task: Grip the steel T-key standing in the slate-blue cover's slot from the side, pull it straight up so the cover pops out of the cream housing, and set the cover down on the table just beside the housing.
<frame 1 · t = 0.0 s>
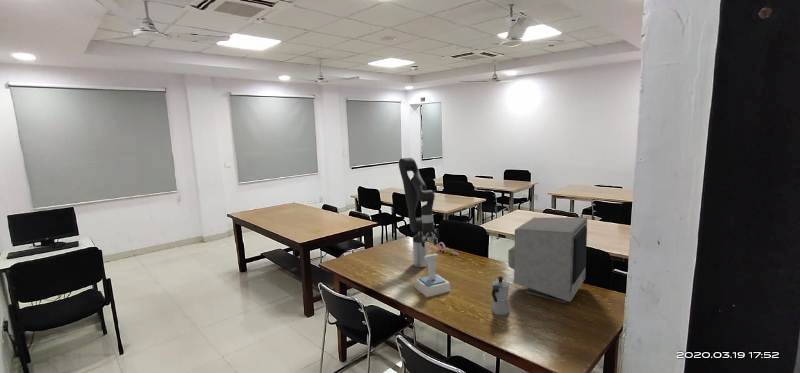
hand: (429, 246, 239), 17 cm above the table, tool pointing down, fingers open, 8 cm apart
housing: (432, 289, 214), on the table
crt monitor: (544, 291, 206), on the table
decorative key: (448, 253, 276), on the table
snap cover: (432, 282, 213), point 4 cm above the table, touching housing
coffee maker: (499, 312, 184), on the table
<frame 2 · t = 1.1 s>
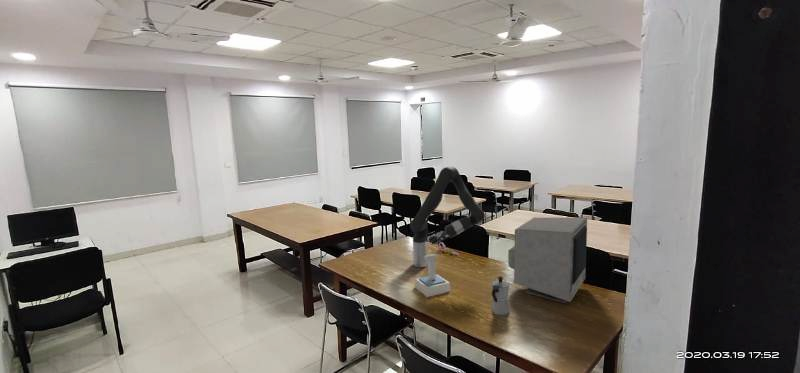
hand: (430, 241, 219), 26 cm above the table, tool tilted 65°, fingers open, 8 cm apart
nothing on the table moved.
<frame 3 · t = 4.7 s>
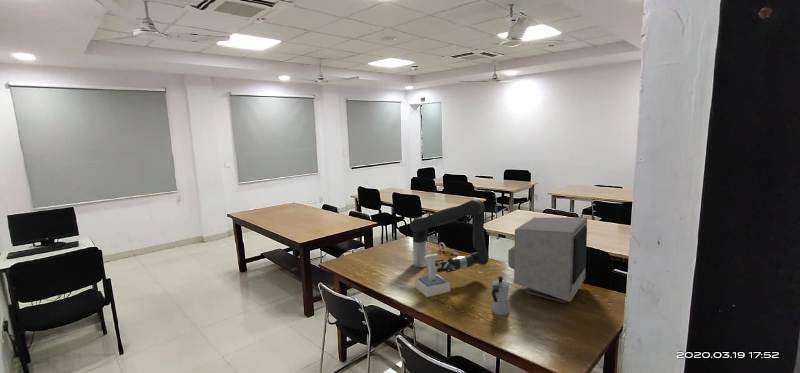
hand: (433, 268, 212), 13 cm above the table, tool horizontal, fingers open, 8 cm apart
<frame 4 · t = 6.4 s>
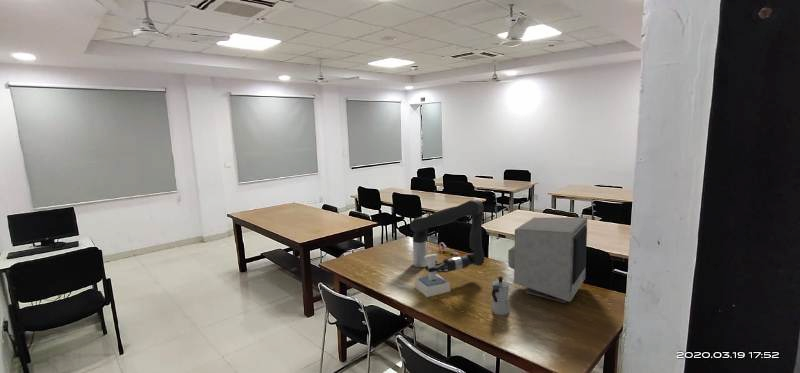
hand: (427, 269, 211), 13 cm above the table, tool horizontal, fingers closed on snap cover, 3 cm apart
snap cover: (432, 282, 213), point 4 cm above the table, touching gripper, housing
everything else where it was.
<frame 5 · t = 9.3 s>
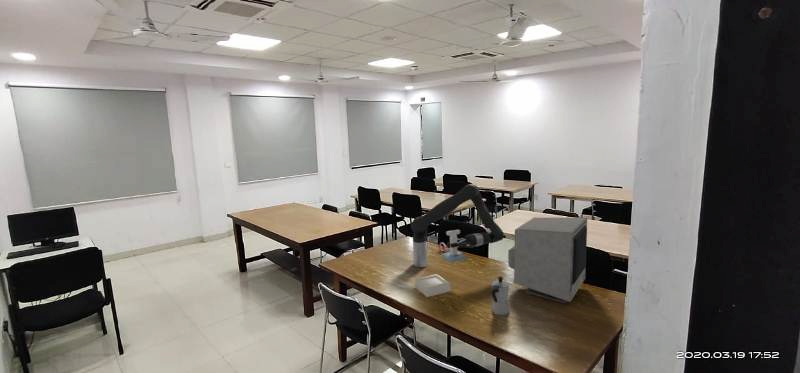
hand: (449, 245, 215), 25 cm above the table, tool horizontal, fingers closed on snap cover, 3 cm apart
snap cover: (453, 258, 218), point 16 cm above the table, touching gripper
when the fingers open (10 cm above the table, at t = 12.2 s): snap cover drops 1 cm, on the table.
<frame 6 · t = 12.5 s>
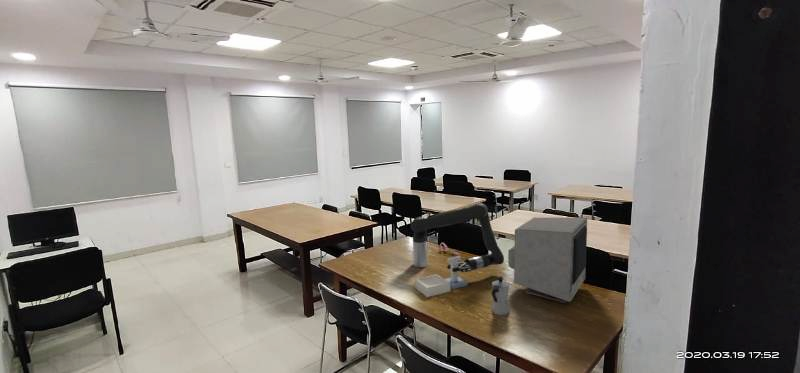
hand: (450, 268, 217), 10 cm above the table, tool horizontal, fingers open, 5 cm apart
snap cover: (454, 284, 220), on the table
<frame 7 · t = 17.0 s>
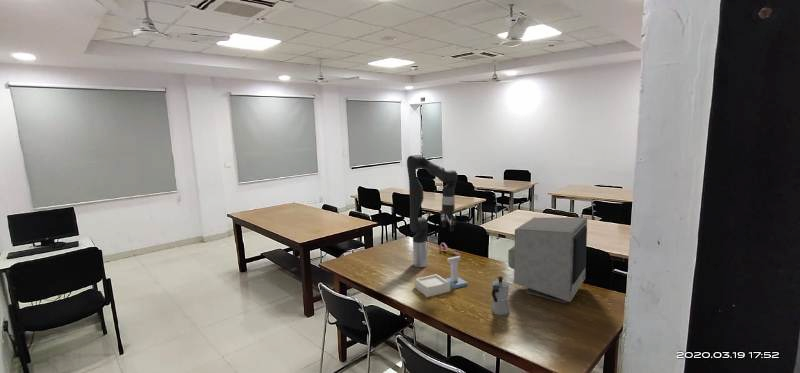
hand: (447, 229, 225), 31 cm above the table, tool pointing down, fingers open, 8 cm apart
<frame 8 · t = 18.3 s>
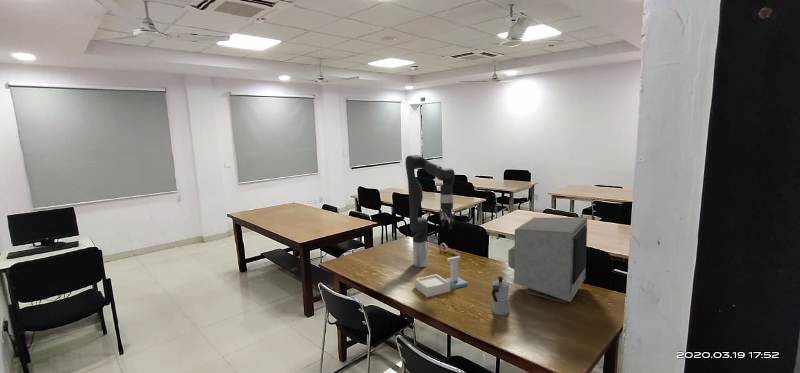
hand: (447, 227, 225), 32 cm above the table, tool pointing down, fingers open, 8 cm apart
at the end: snap cover inside the target area (0.1 cm from its centre), on the table; snap cover tilted 0°; the gripper is holding nothing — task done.
